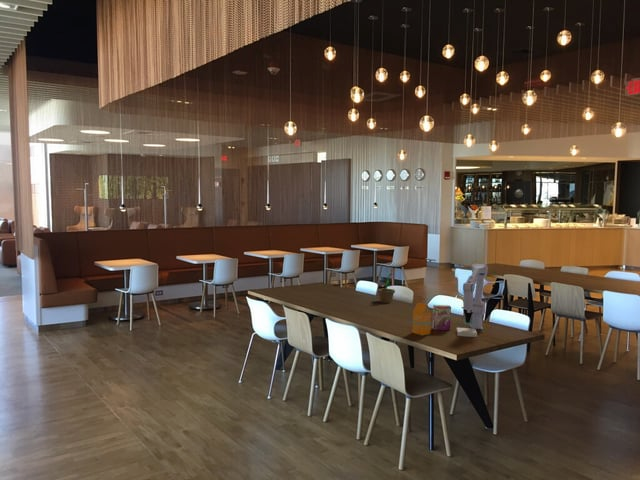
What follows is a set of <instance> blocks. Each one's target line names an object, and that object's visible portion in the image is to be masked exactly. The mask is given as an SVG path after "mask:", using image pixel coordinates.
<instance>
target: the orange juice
mask: <svg viewBox="0 0 640 480" xmlns="http://www.w3.org/2000/svg"><path fill="white" fill-rule="evenodd" d="M431 319H432V311H431V308H430V307H429V305H428V303H422V302H417V303H416V305H415V307H414V308H413V311H412V333H413V334H416V335H419V336H427V335H431V329H432V327H431V326H432V320H431Z"/></svg>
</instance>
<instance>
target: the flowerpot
mask: <svg viewBox="0 0 640 480" xmlns="http://www.w3.org/2000/svg"><path fill="white" fill-rule="evenodd" d="M389 278H390V280H389ZM390 281H391V282H392V281H393V268H392V267H391V270H390V274H388V277H387V279H386V283H385V288H380V289H377V292H378V294H379V302H380V303H383V304H390V303H391V302H392V303H393V299H394V294H395V293H396V289H391V288H388V284H389V283H390Z"/></svg>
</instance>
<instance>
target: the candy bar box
mask: <svg viewBox="0 0 640 480" xmlns="http://www.w3.org/2000/svg"><path fill="white" fill-rule="evenodd" d="M432 309H433V310H432V324H431V326H432V327H431V329H433V331H451V319H452V318H451V316H452V315H451V314H452V312H451V311H452V305H448V304H445V305H444V304H433V306H432Z"/></svg>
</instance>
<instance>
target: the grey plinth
mask: <svg viewBox="0 0 640 480" xmlns="http://www.w3.org/2000/svg"><path fill="white" fill-rule="evenodd" d="M456 335H457V336H458V337H468V338H469V337H470V338H477V337H478V332H477V329H473V328H471V327H470V328H469V327H467V328H466V327H456Z"/></svg>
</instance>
